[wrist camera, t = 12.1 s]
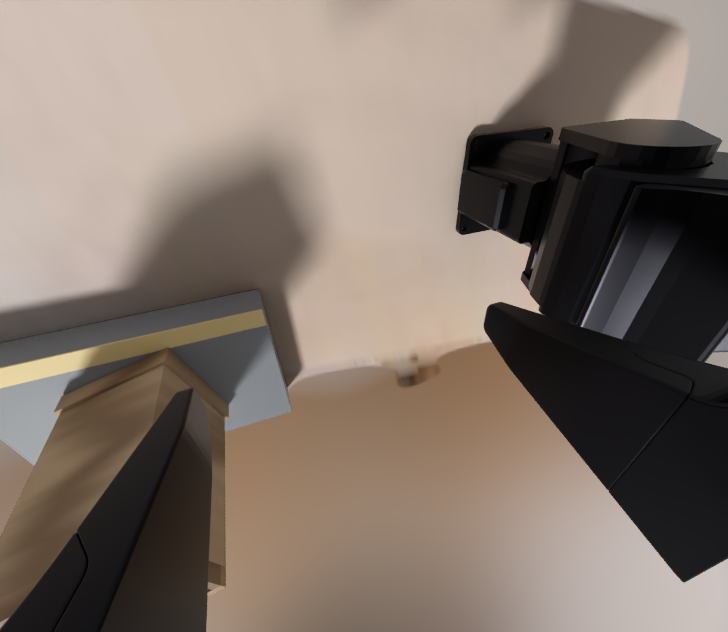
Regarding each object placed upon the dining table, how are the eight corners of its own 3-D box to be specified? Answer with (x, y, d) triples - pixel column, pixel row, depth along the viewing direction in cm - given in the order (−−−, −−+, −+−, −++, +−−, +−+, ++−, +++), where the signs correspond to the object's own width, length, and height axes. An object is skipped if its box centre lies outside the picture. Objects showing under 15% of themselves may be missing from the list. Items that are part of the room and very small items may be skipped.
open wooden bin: (167, 347, 19) (125, 553, 11) (228, 404, 23) (232, 585, 15) (61, 396, 18) (-69, 653, 10) (143, 446, 22) (97, 657, 14)
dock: (258, 288, 21) (261, 309, 19) (287, 388, 27) (291, 412, 25) (-38, 351, 18) (-72, 384, 16) (70, 451, 24) (55, 484, 22)
